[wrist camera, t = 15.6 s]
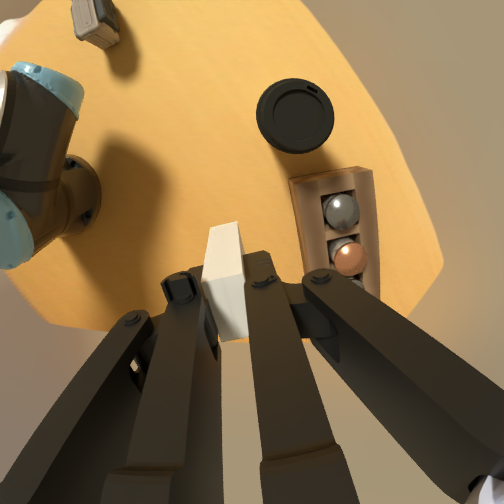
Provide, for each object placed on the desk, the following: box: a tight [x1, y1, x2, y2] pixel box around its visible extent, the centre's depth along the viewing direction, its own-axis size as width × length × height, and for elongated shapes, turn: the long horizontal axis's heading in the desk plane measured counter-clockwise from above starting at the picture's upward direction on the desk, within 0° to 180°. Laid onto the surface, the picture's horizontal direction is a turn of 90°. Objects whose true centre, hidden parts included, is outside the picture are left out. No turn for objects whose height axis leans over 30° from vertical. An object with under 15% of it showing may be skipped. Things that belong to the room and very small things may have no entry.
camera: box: [71, 0, 120, 49], centre depth 32 cm, size 11×6×10 cm, turn 16°
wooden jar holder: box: [288, 166, 380, 300], centre depth 52 cm, size 13×26×6 cm, turn 12°
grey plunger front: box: [320, 192, 360, 230], centre depth 48 cm, size 6×6×7 cm
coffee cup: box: [256, 78, 334, 154], centre depth 39 cm, size 10×10×15 cm
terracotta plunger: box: [327, 236, 367, 276], centre depth 49 cm, size 6×6×7 cm
